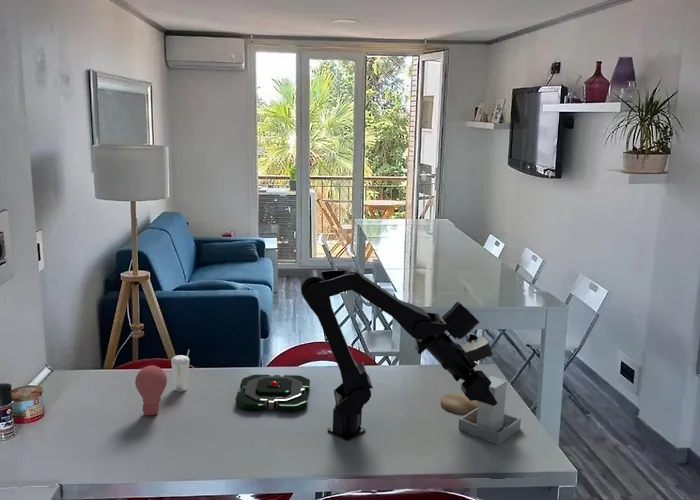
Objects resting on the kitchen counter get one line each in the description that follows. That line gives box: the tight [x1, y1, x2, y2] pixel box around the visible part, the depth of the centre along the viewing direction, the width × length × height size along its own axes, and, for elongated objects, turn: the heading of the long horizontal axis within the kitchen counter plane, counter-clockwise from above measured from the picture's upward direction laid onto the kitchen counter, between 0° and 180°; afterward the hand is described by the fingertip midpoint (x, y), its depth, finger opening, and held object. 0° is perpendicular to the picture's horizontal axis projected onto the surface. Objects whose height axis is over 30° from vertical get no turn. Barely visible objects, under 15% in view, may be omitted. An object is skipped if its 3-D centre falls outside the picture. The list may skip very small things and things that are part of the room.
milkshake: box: [170, 349, 191, 393], centre depth 163 cm, size 4×5×10 cm
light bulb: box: [134, 365, 168, 416], centre depth 149 cm, size 7×7×12 cm
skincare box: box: [476, 375, 508, 433], centre depth 148 cm, size 6×4×12 cm
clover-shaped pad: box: [234, 374, 311, 412], centre depth 162 cm, size 18×18×5 cm
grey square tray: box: [457, 407, 522, 446], centre depth 149 cm, size 10×10×2 cm
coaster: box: [440, 393, 478, 415], centre depth 161 cm, size 10×10×1 cm
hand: (489, 395), depth 148 cm, fingers open, 9 cm apart
